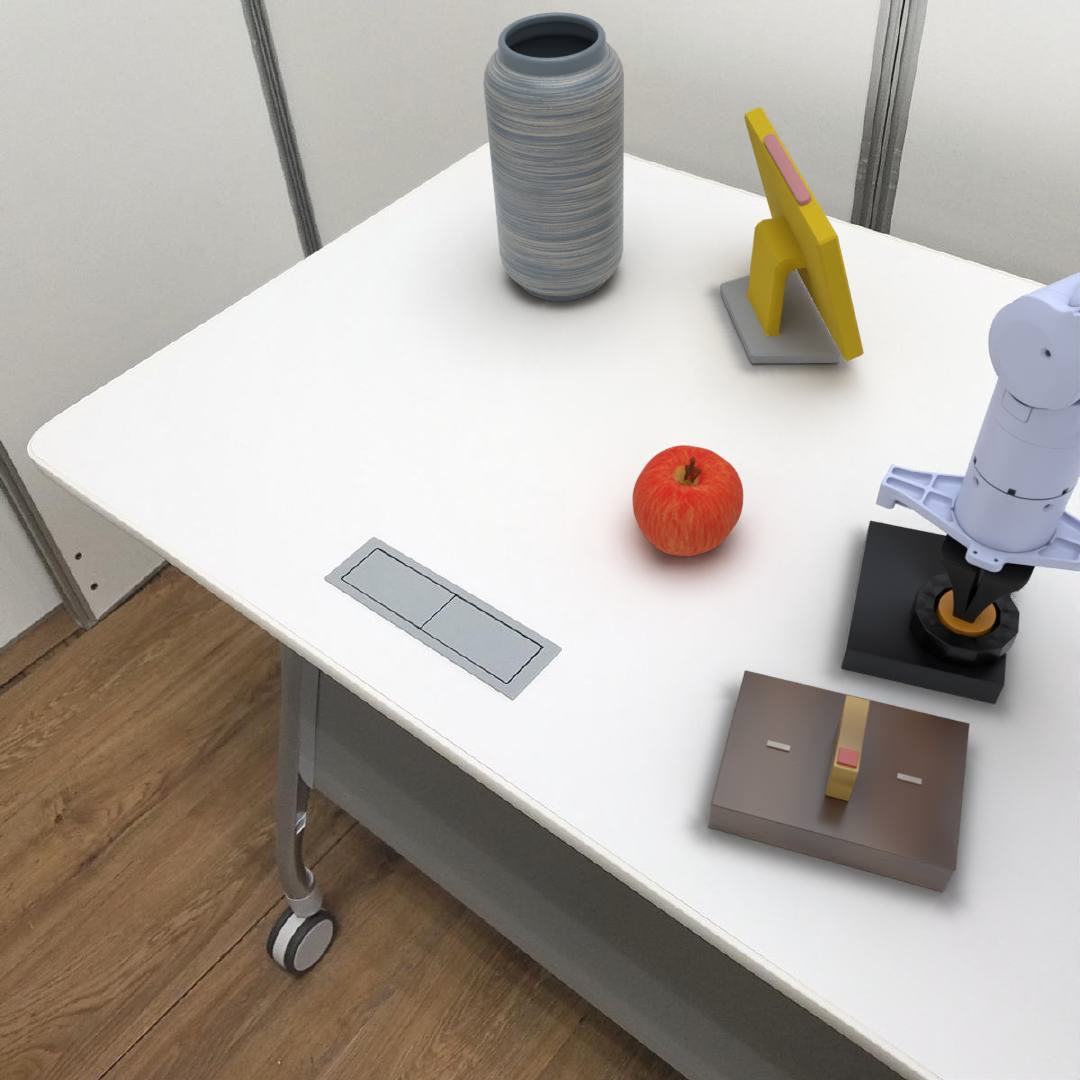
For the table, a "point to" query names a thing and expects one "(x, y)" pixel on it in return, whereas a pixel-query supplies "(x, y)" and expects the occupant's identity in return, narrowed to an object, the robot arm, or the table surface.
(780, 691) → the lock plate
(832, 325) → the toy computer monitor
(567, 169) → the vase
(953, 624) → the bell button
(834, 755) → the wooden block
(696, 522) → the apple
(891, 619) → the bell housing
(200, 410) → the table surface
